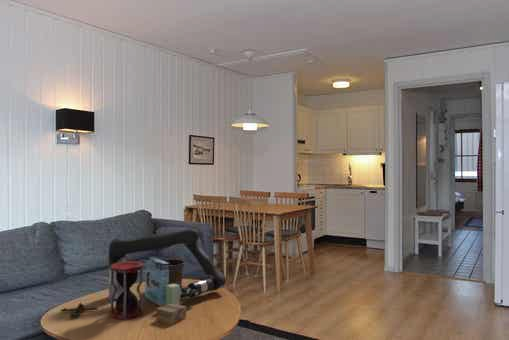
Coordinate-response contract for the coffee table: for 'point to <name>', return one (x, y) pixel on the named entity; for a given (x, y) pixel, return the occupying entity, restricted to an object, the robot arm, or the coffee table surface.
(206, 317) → the coffee table surface
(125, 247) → the robot arm
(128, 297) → the hourglass
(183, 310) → the walnut base block
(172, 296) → the sage block
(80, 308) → the brown crossed bar shape
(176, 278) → the plant pot
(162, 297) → the gum box
